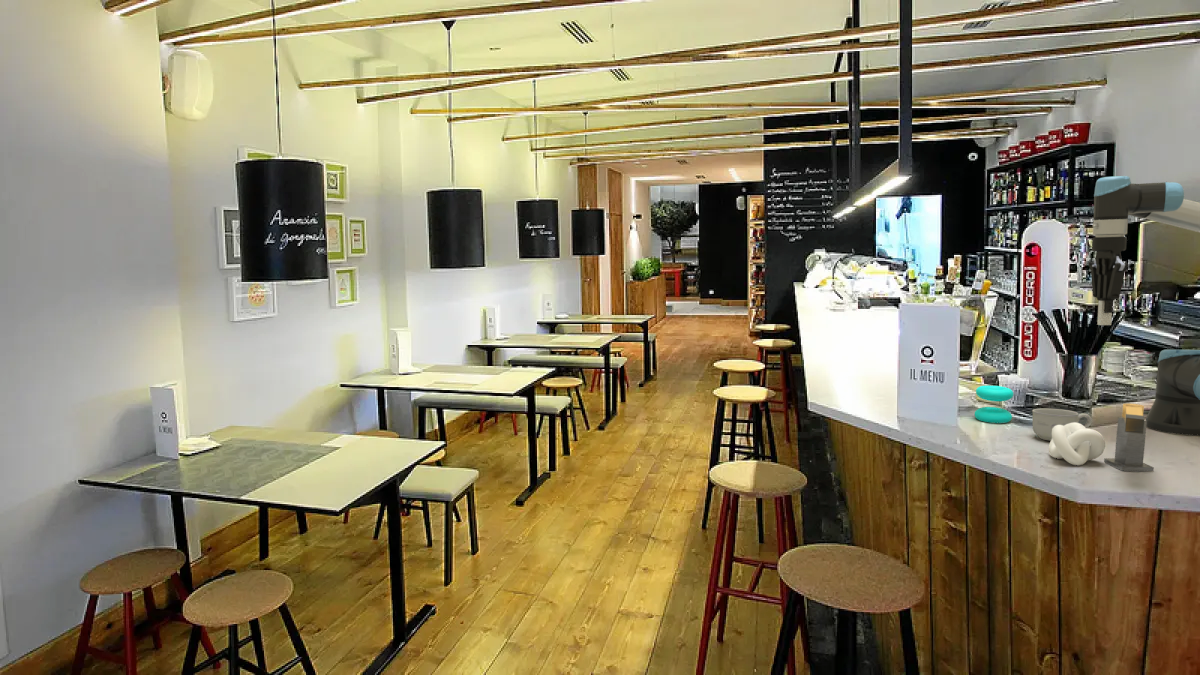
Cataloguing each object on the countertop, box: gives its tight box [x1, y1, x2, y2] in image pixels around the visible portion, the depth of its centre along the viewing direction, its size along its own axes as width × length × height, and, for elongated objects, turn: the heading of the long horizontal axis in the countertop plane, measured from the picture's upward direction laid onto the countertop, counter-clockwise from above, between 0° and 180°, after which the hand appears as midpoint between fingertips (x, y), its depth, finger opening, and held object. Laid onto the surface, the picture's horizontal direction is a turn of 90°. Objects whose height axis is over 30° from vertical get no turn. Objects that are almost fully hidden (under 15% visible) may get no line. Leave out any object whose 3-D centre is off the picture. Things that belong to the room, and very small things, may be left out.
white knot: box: [1048, 422, 1106, 466], centre depth 179 cm, size 11×12×9 cm
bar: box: [1121, 403, 1145, 434], centre depth 167 cm, size 18×4×3 cm, turn 145°
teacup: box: [1032, 408, 1093, 442], centre depth 198 cm, size 14×11×8 cm
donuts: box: [974, 385, 1014, 424], centre depth 221 cm, size 10×10×10 cm
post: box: [1103, 416, 1155, 472], centre depth 174 cm, size 7×7×12 cm
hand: (1104, 324), depth 197 cm, fingers closed
